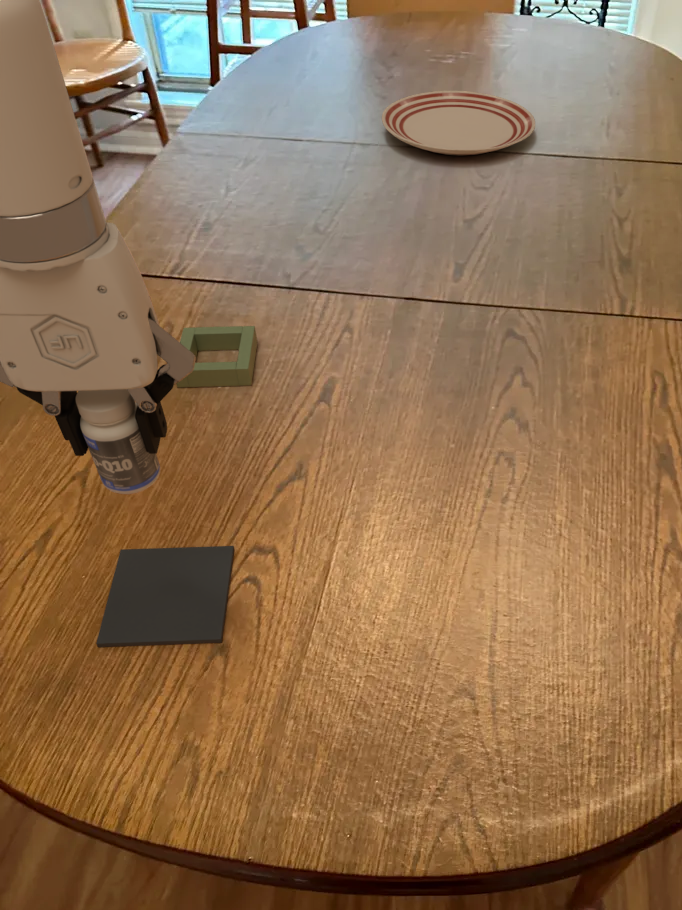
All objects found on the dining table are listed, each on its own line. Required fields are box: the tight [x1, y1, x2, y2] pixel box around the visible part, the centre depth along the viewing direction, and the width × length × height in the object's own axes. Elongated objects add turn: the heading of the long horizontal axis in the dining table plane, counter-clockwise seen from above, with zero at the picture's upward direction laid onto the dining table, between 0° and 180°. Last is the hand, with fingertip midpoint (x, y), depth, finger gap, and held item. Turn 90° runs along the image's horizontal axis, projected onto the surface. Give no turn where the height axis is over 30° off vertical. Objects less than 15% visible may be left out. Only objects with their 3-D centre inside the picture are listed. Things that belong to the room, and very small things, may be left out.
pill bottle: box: [76, 389, 161, 495], centre depth 61 cm, size 5×5×8 cm
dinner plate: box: [381, 90, 536, 156], centre depth 141 cm, size 27×27×3 cm
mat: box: [95, 545, 235, 648], centre depth 73 cm, size 11×11×1 cm
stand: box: [175, 325, 258, 388], centre depth 96 cm, size 9×9×2 cm
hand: (119, 441), depth 61 cm, fingers closed on pill bottle, 4 cm apart
